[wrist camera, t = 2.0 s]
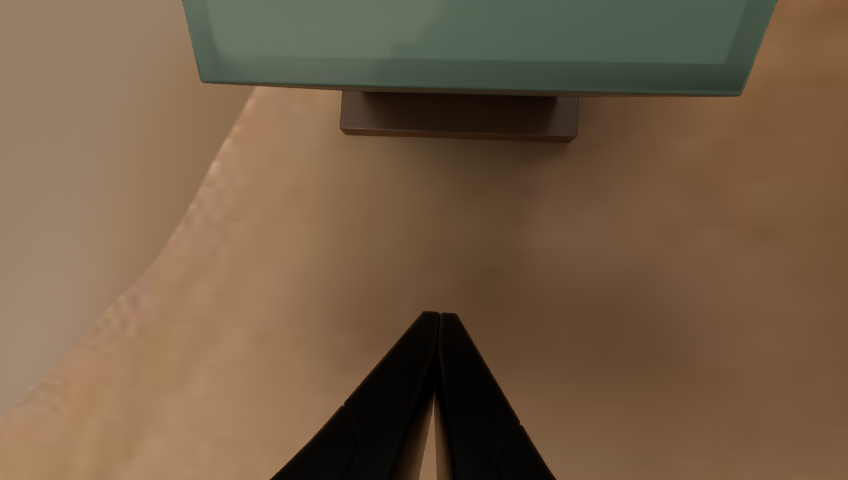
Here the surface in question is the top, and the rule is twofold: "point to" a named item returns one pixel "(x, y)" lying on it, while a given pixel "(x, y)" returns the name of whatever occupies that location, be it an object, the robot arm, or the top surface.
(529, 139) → the shelf base
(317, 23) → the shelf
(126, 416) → the top surface
